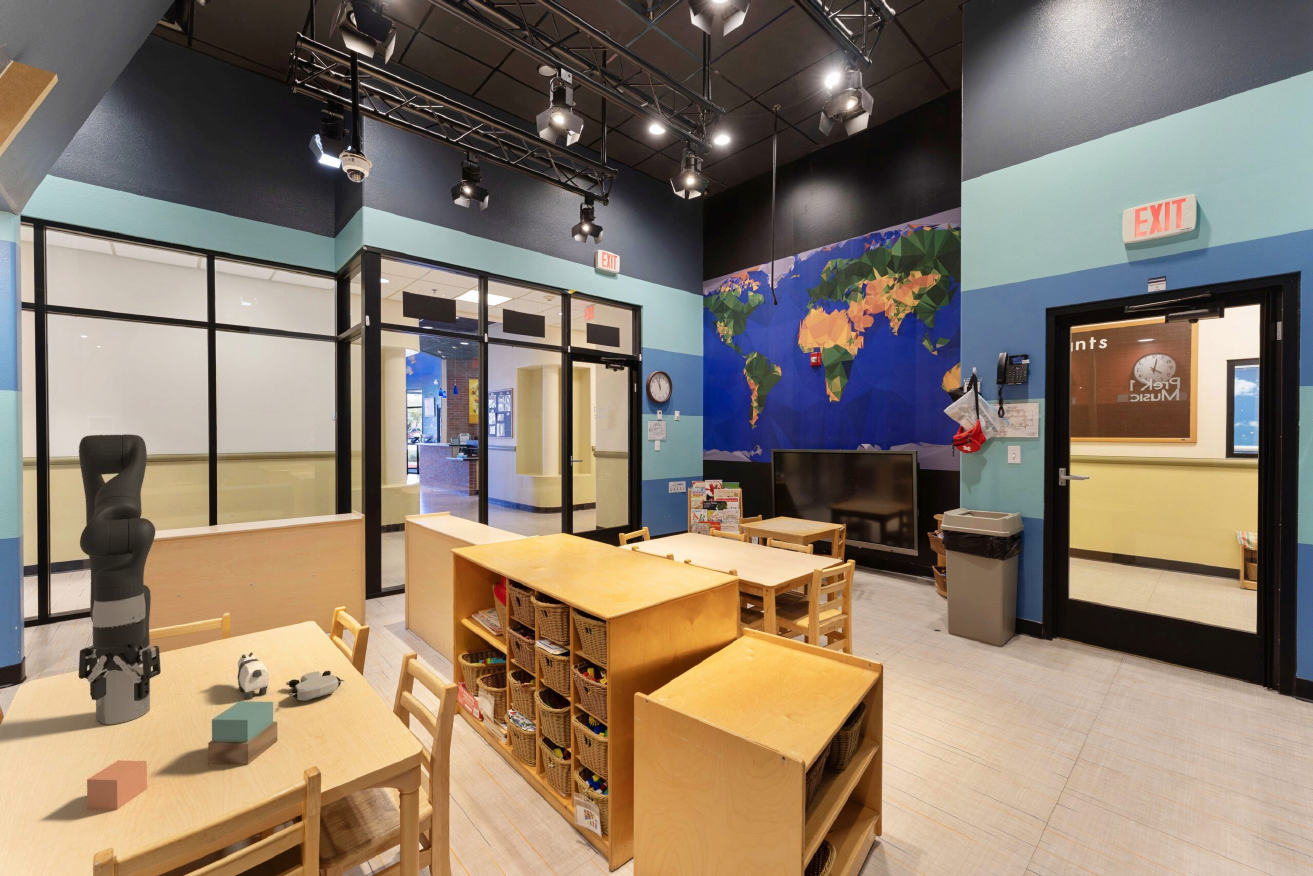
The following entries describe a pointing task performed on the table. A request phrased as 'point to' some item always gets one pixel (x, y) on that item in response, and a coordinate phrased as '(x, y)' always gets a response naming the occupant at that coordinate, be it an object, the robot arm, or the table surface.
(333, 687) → the robot toy
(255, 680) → the giant panda
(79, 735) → the table surface
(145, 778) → the terracotta cube
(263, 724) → the tower top
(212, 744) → the tower base
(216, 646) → the table surface
